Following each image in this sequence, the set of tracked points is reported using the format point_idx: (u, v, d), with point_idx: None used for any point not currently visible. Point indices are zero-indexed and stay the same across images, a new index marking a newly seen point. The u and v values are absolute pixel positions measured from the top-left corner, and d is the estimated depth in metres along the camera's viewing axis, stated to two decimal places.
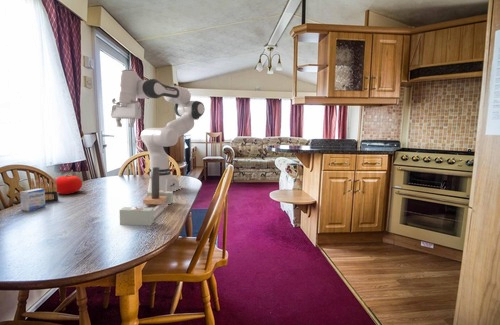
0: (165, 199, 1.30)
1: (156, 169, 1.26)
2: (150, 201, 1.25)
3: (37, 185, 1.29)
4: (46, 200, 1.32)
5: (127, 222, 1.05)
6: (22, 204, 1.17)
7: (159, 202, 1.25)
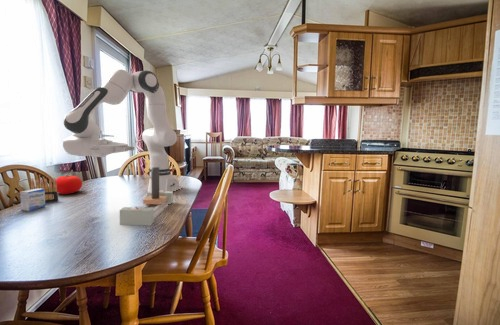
0: (165, 199, 1.30)
1: (156, 169, 1.26)
2: (150, 201, 1.25)
3: (37, 185, 1.29)
4: (46, 200, 1.32)
5: (127, 222, 1.05)
6: (22, 204, 1.17)
7: (159, 202, 1.25)
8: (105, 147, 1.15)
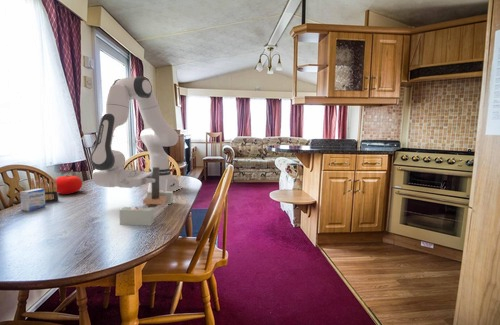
0: (165, 199, 1.30)
1: (156, 169, 1.26)
2: (150, 201, 1.25)
3: (37, 185, 1.29)
4: (46, 200, 1.32)
5: (127, 222, 1.05)
6: (22, 204, 1.17)
7: (159, 202, 1.25)
8: (135, 181, 1.17)
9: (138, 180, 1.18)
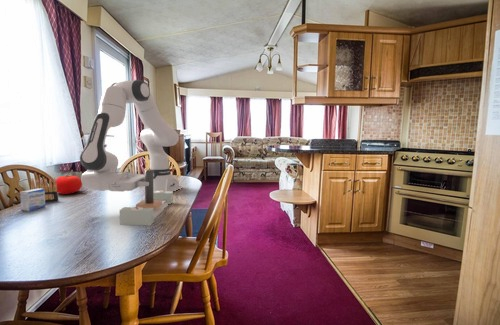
0: (160, 204, 1.22)
1: (150, 172, 1.17)
2: (144, 206, 1.16)
3: (37, 185, 1.29)
4: (46, 200, 1.32)
5: (127, 222, 1.05)
6: (22, 204, 1.17)
7: (153, 207, 1.17)
8: (127, 184, 1.09)
9: (130, 184, 1.09)
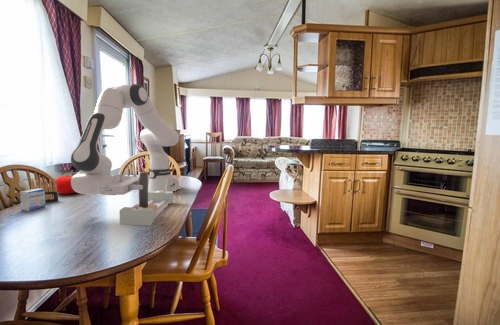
0: (155, 208, 1.15)
1: (144, 174, 1.10)
2: None
3: (37, 185, 1.29)
4: (46, 200, 1.32)
5: (127, 222, 1.05)
6: (22, 204, 1.17)
7: None
8: (119, 188, 1.02)
9: (122, 187, 1.02)
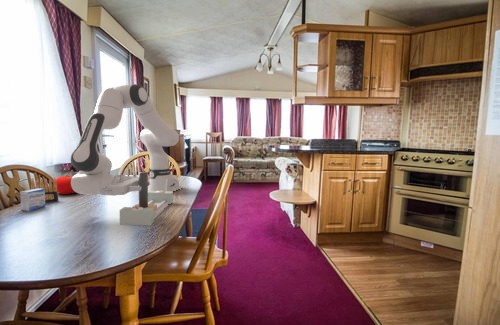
0: (154, 208, 1.15)
1: (144, 174, 1.10)
2: None
3: (37, 185, 1.29)
4: (46, 200, 1.32)
5: (127, 222, 1.05)
6: (22, 204, 1.17)
7: None
8: (119, 188, 1.02)
9: (122, 187, 1.02)
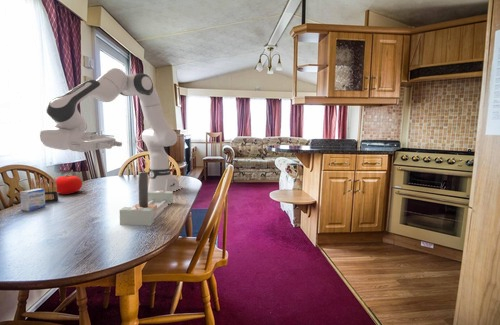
0: (154, 208, 1.15)
1: (144, 174, 1.10)
2: None
3: (37, 185, 1.29)
4: (46, 200, 1.32)
5: (127, 222, 1.05)
6: (22, 204, 1.17)
7: None
8: (87, 143, 1.01)
9: (91, 143, 1.02)
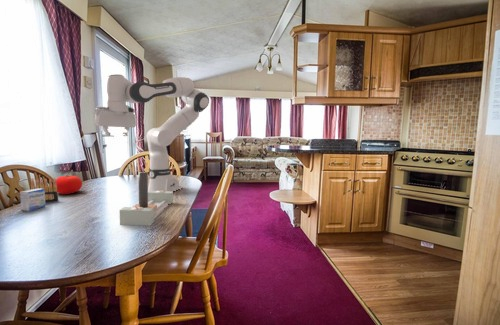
0: (154, 208, 1.15)
1: (144, 174, 1.10)
2: None
3: (37, 185, 1.29)
4: (46, 200, 1.32)
5: (127, 222, 1.05)
6: (22, 204, 1.17)
7: None
8: (97, 122, 1.22)
9: (99, 124, 1.22)
